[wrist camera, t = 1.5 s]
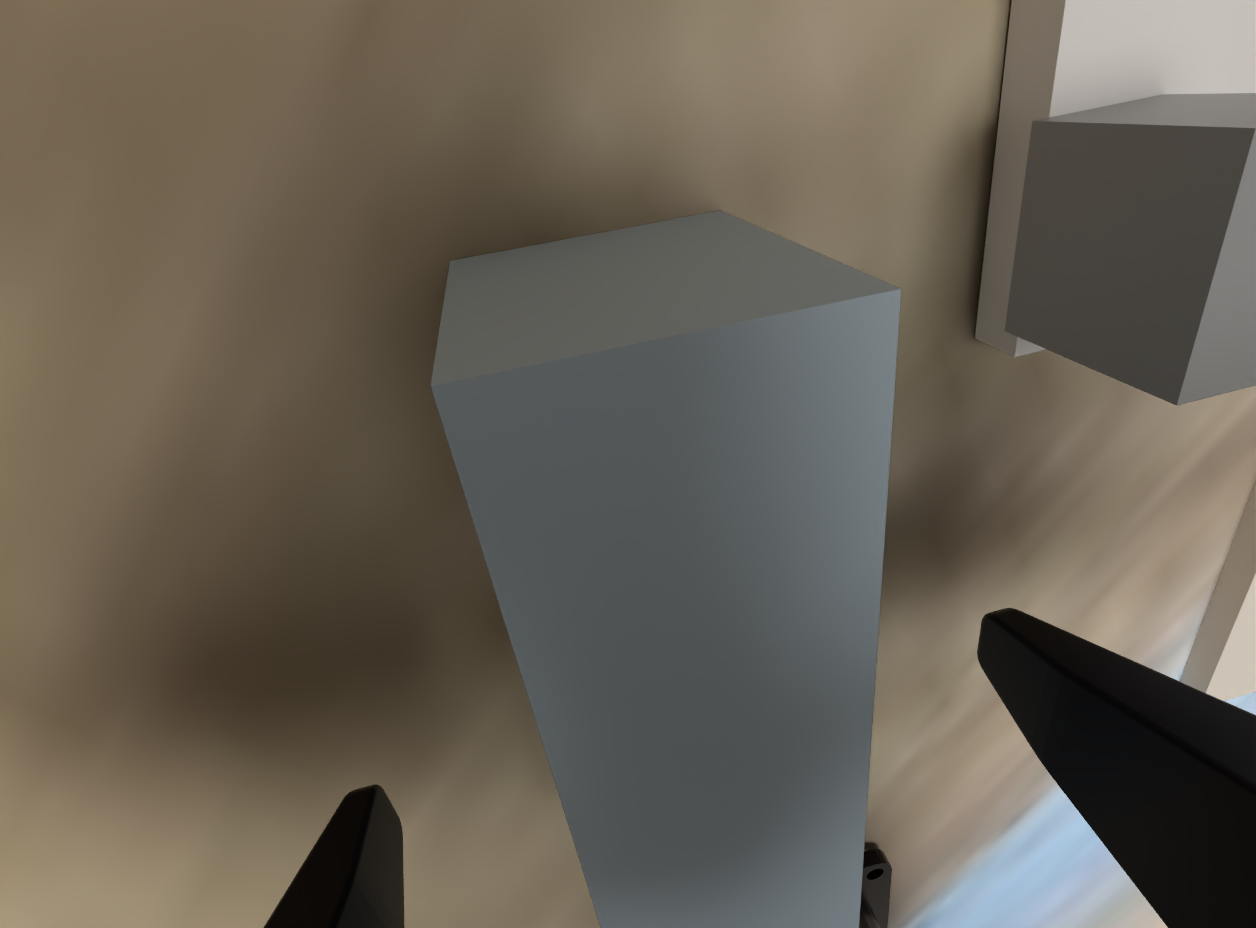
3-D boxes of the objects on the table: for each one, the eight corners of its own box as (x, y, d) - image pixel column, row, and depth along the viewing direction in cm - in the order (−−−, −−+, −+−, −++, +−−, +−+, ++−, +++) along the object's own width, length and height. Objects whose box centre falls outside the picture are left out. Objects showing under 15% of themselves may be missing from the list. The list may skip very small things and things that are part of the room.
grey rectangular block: (753, 732, 16) (856, 966, 12) (590, 777, 16) (635, 1036, 11) (716, 208, 10) (901, 288, 6) (450, 258, 10) (431, 386, 5)
